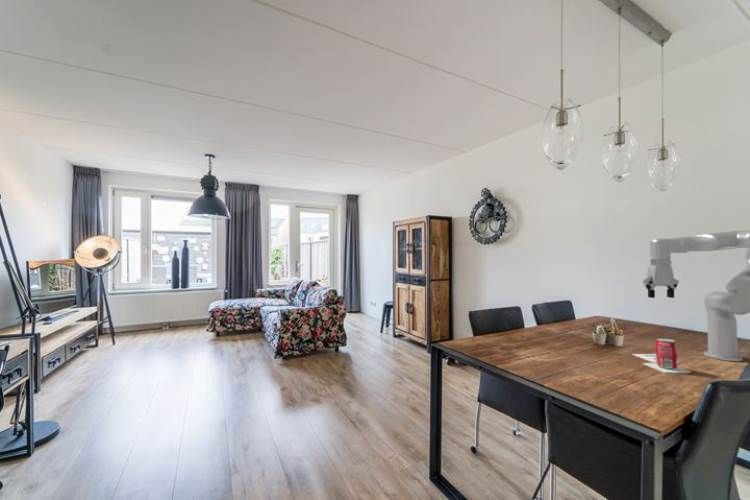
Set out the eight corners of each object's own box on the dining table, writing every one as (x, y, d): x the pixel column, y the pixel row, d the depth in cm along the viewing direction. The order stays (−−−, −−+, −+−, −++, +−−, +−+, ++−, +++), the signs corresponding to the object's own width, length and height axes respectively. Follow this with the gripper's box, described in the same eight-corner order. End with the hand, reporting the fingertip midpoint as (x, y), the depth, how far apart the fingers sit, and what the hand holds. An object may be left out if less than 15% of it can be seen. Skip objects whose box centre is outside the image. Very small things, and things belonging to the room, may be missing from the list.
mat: (666, 363, 143) (666, 362, 143) (691, 372, 132) (691, 371, 132) (642, 364, 143) (642, 363, 143) (665, 373, 132) (665, 372, 132)
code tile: (655, 354, 156) (655, 353, 156) (679, 362, 144) (679, 362, 144) (632, 354, 156) (632, 353, 156) (653, 362, 144) (653, 362, 144)
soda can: (668, 364, 140) (667, 337, 141) (682, 370, 133) (681, 342, 134) (651, 364, 141) (650, 337, 141) (664, 369, 134) (663, 341, 134)
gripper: (670, 263, 161) (670, 296, 161) (637, 263, 161) (637, 296, 161) (684, 263, 154) (685, 298, 153) (650, 263, 153) (650, 298, 153)
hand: (660, 297), depth 157 cm, fingers open, 9 cm apart
